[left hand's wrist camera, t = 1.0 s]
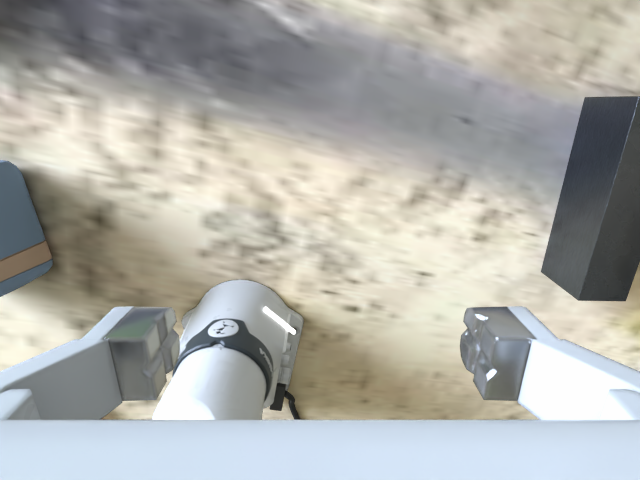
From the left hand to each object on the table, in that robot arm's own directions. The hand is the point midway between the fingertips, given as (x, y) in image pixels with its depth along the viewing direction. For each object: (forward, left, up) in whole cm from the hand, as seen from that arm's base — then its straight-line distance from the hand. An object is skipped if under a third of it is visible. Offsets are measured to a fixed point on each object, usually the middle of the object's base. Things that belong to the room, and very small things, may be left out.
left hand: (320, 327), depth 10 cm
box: (-5, -36, -41) cm, 55 cm away
